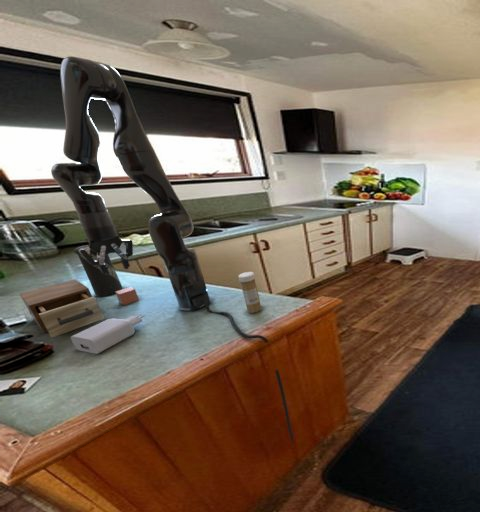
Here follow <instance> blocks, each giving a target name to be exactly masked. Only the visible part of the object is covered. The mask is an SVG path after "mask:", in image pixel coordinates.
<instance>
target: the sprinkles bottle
mask: <svg viewBox="0 0 480 512" xmlns="http://www.w3.org/2000/svg"><path fill="white" fill-rule="evenodd" d="M255 277H256V276H255V273H254V272H253V271H244V272H242V273H240V274H238V280H239V283H240V287H241V290H242V295H243V298H244V303H245V306H246V309H247V310H246V312H247V313H249V314H255V313H258V312H260V311H261V310H262V305H261V299H260V295H259V291H258V288H257V283H256V278H255Z"/></svg>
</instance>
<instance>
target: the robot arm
mask: <svg viewBox="0 0 480 512" xmlns="http://www.w3.org/2000/svg"><path fill="white" fill-rule="evenodd" d="M59 74H60V84H61V93H62V102H63V108H64V117H65V133H64V140H63V149H62V151H63V155H64V156H65V157H66V158H67V159H69V160H71V161H73V162H60V163H59V162H58V163H55V164H54V165H53V166H52V167H51V169H50V170H51V176H52V178H53V180H54V181H55V182H56V183H57V185H58V186H59V188H61V189H62V190H63V191H64V193H65V195H67V197H68V198H69V199H70V201H71V203H73V207H74V209H75V211H76V213H77V216H78V220H79V223H80V227H81V228H82V230H83V232H84V234H85V237H86V239H87V242H88V244H87V245H88V247H86V248H83V249H79V250H78V251H79V253H80V254H81V255H82V256H83V257H84V258H85V259H86V260H87V261H88V262H89V263H90V264H92V265H99V268H100V270H101V272H102V273H104V274H106V275H107V274H109V272H108V269H107V267H106V265H105V264H104V259H105V255H107V254H108V255H109V254H114V253H115V254H116V255H118V256H119V258H120V262H121V264H122V267H123V269H124V270H129V268H130V267H131V265H130V262H129V259H128V258H130V257H132V256H134V249H133V247H134V246H133V245H134V244H133V240H132V239H129V238H126V239H122V238H121V237H120V236H119V234H118V232H117V228H116V226H115V224H114V222H113V221H114V220H113V218H112V216H111V214H110V213H109V211H108V208H107V206H106V204H105V200H104V198H103V197H102V194H101V195H100V194H99V193H96V192H86V191H84V190H83V189H82V188H81V187H84V186H95V185H97V184H99V183H100V182H101V181H102V178H103V177H102V172H101V169H100V163H99V157H98V156H99V153H100V146H101V136H100V133H99V131H98V129H97V127H96V126H95V123H94V122H93V120H92V118H91V117H90V115H89V110H88V109H89V103H90V101H91V99H94V100H102V101H105V103H106V104H107V105H108V107H109V109H110V111H111V114H112V116H113V119H114V124H115V126H114V133H113V140H112V150H113V153H114V155H115V158H116V159H117V160H118V163H119V165H120V166H121V168H122V170H123V172H124V173H125V175H126V176H127V177H128V178H129V179H130V180H131V181H132V182H133V183H134V184H135V185H136V186H138V187H139V188H140V189H142V191H144V192H145V193H146V194H147V195H149V197H150V198H151V199H152V200H153V201H154V203H155V204H156V206H157V208H158V210H159V211H160V214H155V215H154V216H152V217H151V218H150V219H149V220H148V223H147V231H148V233H149V236H150V238H151V241H152V243H153V246H154V248H155V250H156V252H157V255H158V256H159V257H160V258H161V259H162V261H163V264H164V267H165V270H166V273H167V275H168V279H169V281H170V285H171V287H172V290H173V292H174V296H175V299H176V302H177V305H178V308H179V310H180V311H182V312H189V311H190V312H195V311H197V310H199V309H201V308H203V307H205V309H206V311H207V312H208V313H209V314H216V315H225V316H227V317H228V318H229V320H230V323H231V325H232V326H233V328H234V329H235V331H236V333H238V334H239V335H240V336H242V337H244V338H246V339H260V340H262V341H263V342H265V343H269V342H270V340H269V339H267V338H266V337H265V336H264V335H261V334H247V333H245V332H244V331H242V330H241V328H240V327H239V326H238V325H237V324H236V322H235V320H234V317H233V316H232V314H231V313H230V312H228V311H213V310H211V309H210V305H211V297H210V294H209V290H208V288H207V285H206V281H205V278H204V274H203V272H202V271H203V270H202V268H201V264H200V260H199V257H198V253H197V251H196V249H194V248H193V247H187V246H186V244H185V242H184V240H183V239H184V238H187V237H189V236H190V235H192V233H193V232H194V221H193V220H192V218H191V216H190V214H189V212H188V211H187V209H186V208H185V206H184V205H183V203H182V201H181V200H180V198H179V196H178V195H177V193H176V191H175V189H174V188H173V185H172V184H171V182H170V180H169V178H168V175H167V174H166V172H165V170H164V168H163V165H162V164H161V161H160V159H159V157H158V155H157V153H156V151H155V149H154V147H153V146H152V143H151V142H150V140H149V138H148V136H147V134H146V131H145V129H144V127H143V125H142V123H141V120H140V118H139V116H138V114H137V111H136V108H135V105H134V103H133V100H132V98H131V95H130V93H129V90H128V88H127V85H126V83H125V81H124V79H123V78H122V76H121V75H120V73H119V72H118V70H116V68H114V67H113V66H111V65H109V64H106V63H103V62H100V61H96V60H92V59H87V58H83V57H78V56H73V55H70V56H66V57H64V58H63V59H62V61H61V63H60V72H59ZM122 244H123V246H125V253H124V252H123V251H122V250H121V247H122ZM90 249H92V250H94V251H95V252H97V261H94V260H93V259H92V258H91V256H90V255H89V254H90ZM275 376H276V378H277V383H278V387H279V390H280V395H281V400H282V404H283V410H284V414H285V419H286V424H287V429H288V434H289V438H290V441H291V442H294V441H295V439H294V435H293V430H292V425H291V420H290V415H289V409H288V406H287V405H288V404H287V400H286V395H285V390H284V386H283V383H282V379H281V374H280V371H279V369H276V370H275Z"/></svg>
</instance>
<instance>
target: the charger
mask: <svg viewBox="0 0 480 512" xmlns="http://www.w3.org/2000/svg"><path fill="white" fill-rule="evenodd" d="M144 317H146V315H145V314H144V315H142V314H138V315H130V316H128V317H126V318H124V319H122V318H115V317H114V318H107V319H106V320H104V321H102V322H101V321H100V322H99V323H97V324H94V325H93V326H90V327H88V328H86V329H84V330H82V331H80V332H78V333H75V334H73V335H71V336H70V340H71V342H72V344H73V345H74V347H75V349H76V350H78V351H80V352H85V353H91V354H95V355H98V354H100V353H102V352H104V351H105V350H107V349H109V348H111V347H113V346H115V345H117V344H118V343H120V342H122V341H124V340H125V339H127V338H129V337H131V336H133V335H134V334H135V331H136V330H135V328H134V327H135V326H136V325H138V324H140V323H142V322H143V318H144Z"/></svg>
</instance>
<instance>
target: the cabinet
mask: <svg viewBox="0 0 480 512" xmlns="http://www.w3.org/2000/svg"><path fill="white" fill-rule="evenodd" d="M79 293H84V294H86V295H87V296H88V297H90V298H91V297H93V295H92V293H91V290H90V288H89V287H87V286H86V285H85V284H84V283H82V282H80V281H79V280H77V279H70V280H66V281H63V282H59V283H55V284H51V285H48V286H44V287H40V288H36V289H33V290H29V291H25V292H21V293H19V296H20V297H21V300H22V302H23V303H24V304H25V306H26V308H27V310H28V311H29V314H30V316H31V318H32V319H33V320H34V322H35V324H36V325H37V326H38V327H39V329H40V330H41V331H42V333H43V334H46V333H49V332H48V330H47V328H46V327H45V325H44V323H43V321H42V319H41V318H40V316H39V311H38V309H37V307H36V306H39V305H43V304H46V303H49V302H53V301H56V300H59V299H63V298H66V297H69V296H73V295H76V294H79Z"/></svg>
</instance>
